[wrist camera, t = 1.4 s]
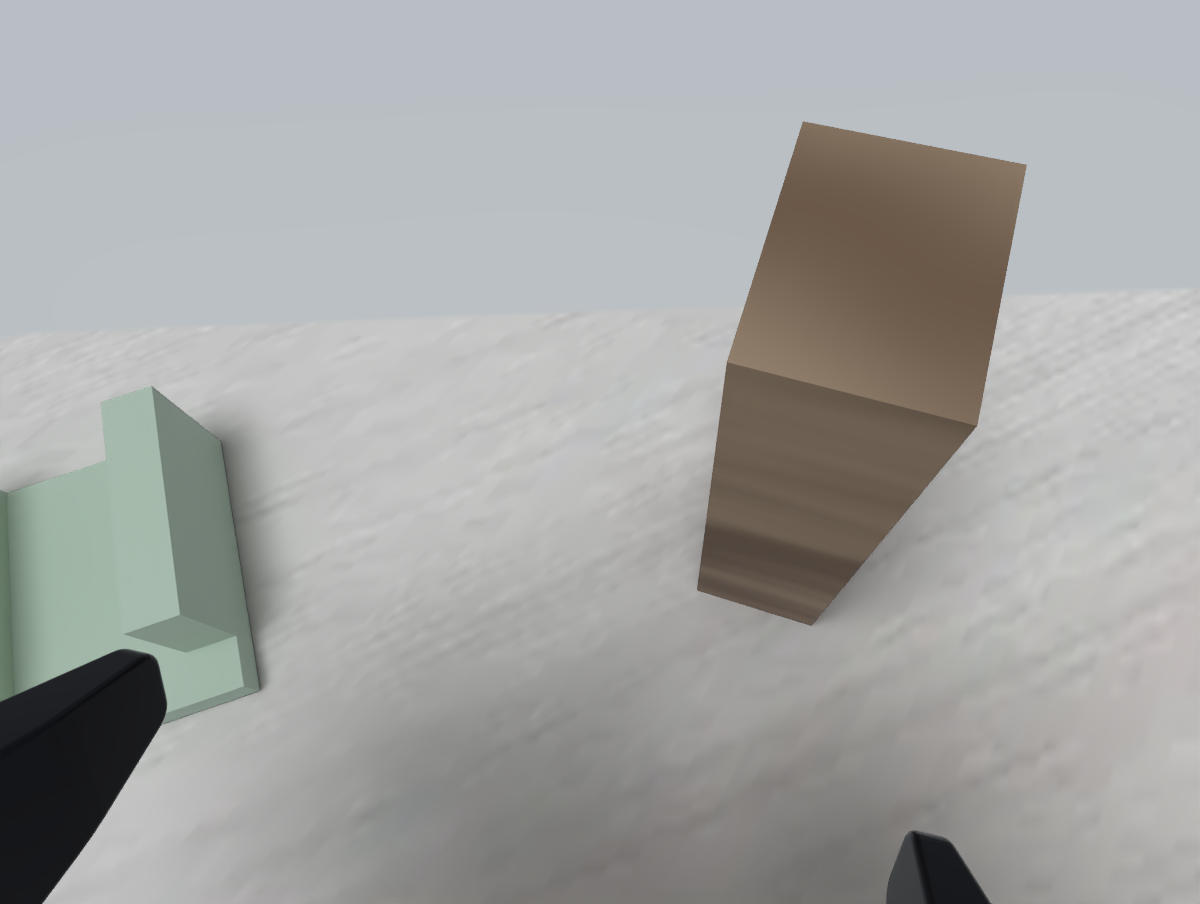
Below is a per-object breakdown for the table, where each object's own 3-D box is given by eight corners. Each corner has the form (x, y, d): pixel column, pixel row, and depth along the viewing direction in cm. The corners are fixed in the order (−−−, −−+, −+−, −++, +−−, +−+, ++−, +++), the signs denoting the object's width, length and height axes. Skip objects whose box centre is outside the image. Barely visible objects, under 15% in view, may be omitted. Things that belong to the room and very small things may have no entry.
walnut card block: (811, 625, 24) (977, 426, 11) (697, 590, 25) (727, 362, 12) (845, 485, 25) (1026, 164, 13) (737, 455, 26) (803, 122, 13)
